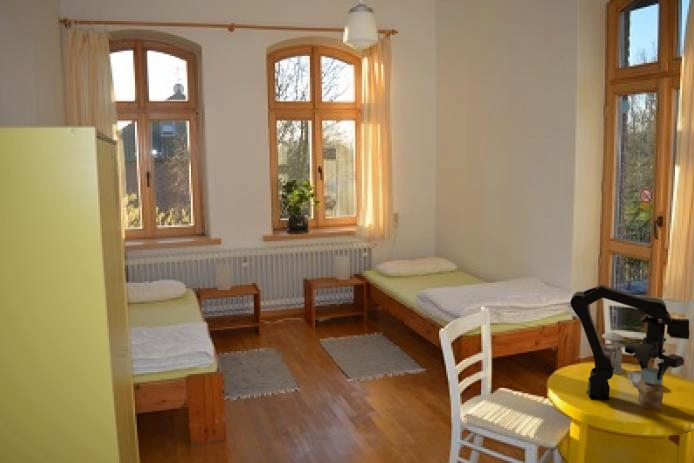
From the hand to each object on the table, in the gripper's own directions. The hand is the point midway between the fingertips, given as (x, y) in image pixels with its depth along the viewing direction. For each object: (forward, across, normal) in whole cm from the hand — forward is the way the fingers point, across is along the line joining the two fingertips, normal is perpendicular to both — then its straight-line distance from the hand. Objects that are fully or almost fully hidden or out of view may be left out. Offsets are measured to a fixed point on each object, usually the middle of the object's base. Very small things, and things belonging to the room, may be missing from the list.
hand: (651, 377), depth 219 cm
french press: (+10, -27, +18) cm, 34 cm away
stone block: (+10, -12, +15) cm, 22 cm away
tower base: (+10, 0, 0) cm, 10 cm away
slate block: (+1, 0, 0) cm, 1 cm away
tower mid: (+6, 0, 0) cm, 6 cm away
